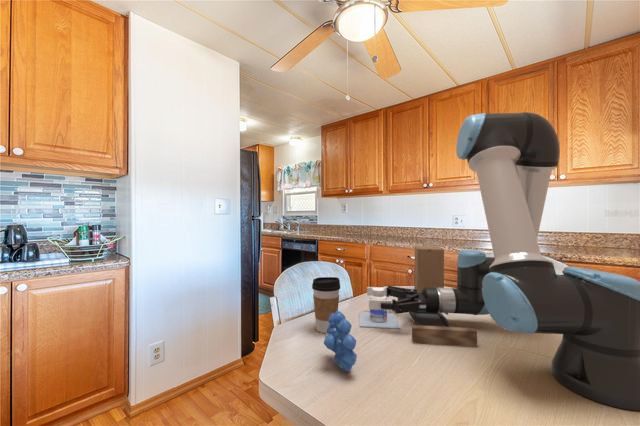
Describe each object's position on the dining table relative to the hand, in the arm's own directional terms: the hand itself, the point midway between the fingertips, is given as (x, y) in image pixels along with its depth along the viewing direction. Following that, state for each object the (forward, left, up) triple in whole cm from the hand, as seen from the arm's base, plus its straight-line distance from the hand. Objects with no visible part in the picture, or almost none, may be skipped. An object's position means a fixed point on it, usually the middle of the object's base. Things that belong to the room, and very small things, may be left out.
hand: (367, 297), depth 92 cm
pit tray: (+7, -18, -7) cm, 21 cm away
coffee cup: (-12, +9, -8) cm, 17 cm away
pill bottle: (+1, -3, -7) cm, 8 cm away
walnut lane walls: (+7, -18, -7) cm, 21 cm away
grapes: (-29, -2, -8) cm, 30 cm away
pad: (+1, -3, -7) cm, 8 cm away
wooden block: (+37, -14, -8) cm, 40 cm away
